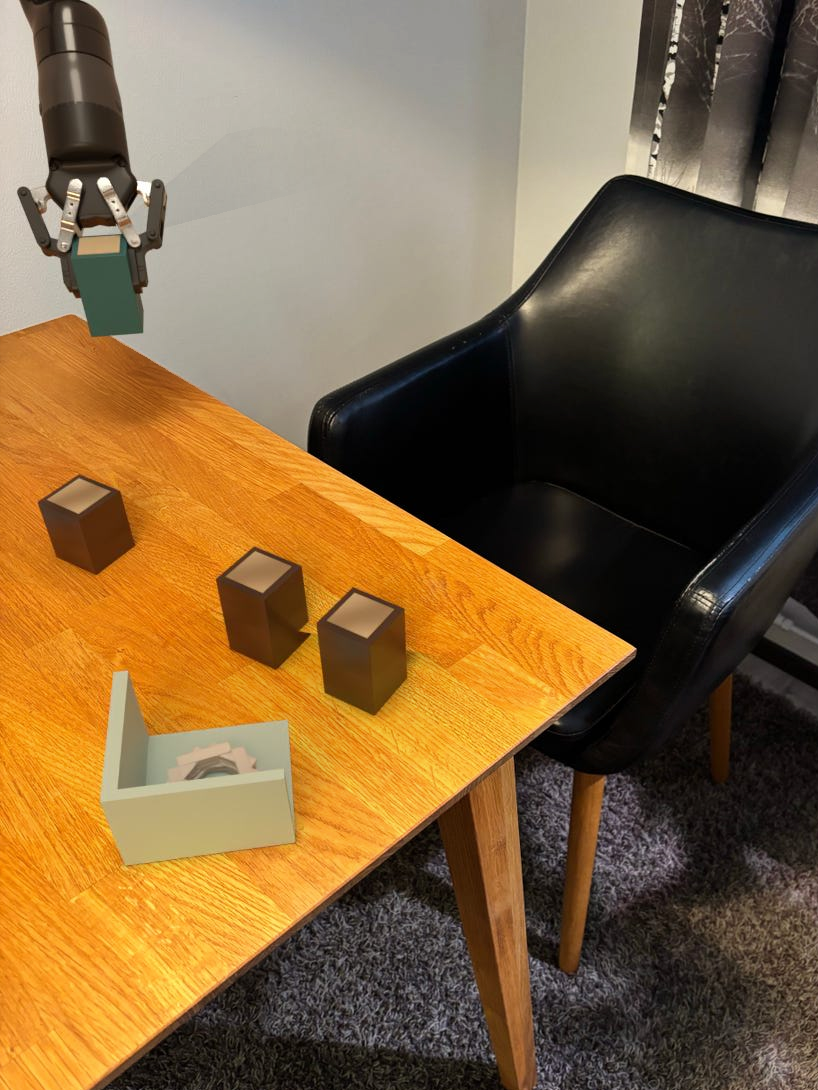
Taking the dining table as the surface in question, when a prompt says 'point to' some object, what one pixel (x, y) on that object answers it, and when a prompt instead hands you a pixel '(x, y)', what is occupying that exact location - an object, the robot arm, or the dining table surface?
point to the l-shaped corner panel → (193, 785)
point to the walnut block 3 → (363, 650)
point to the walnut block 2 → (264, 606)
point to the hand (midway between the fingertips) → (107, 292)
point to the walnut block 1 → (87, 523)
